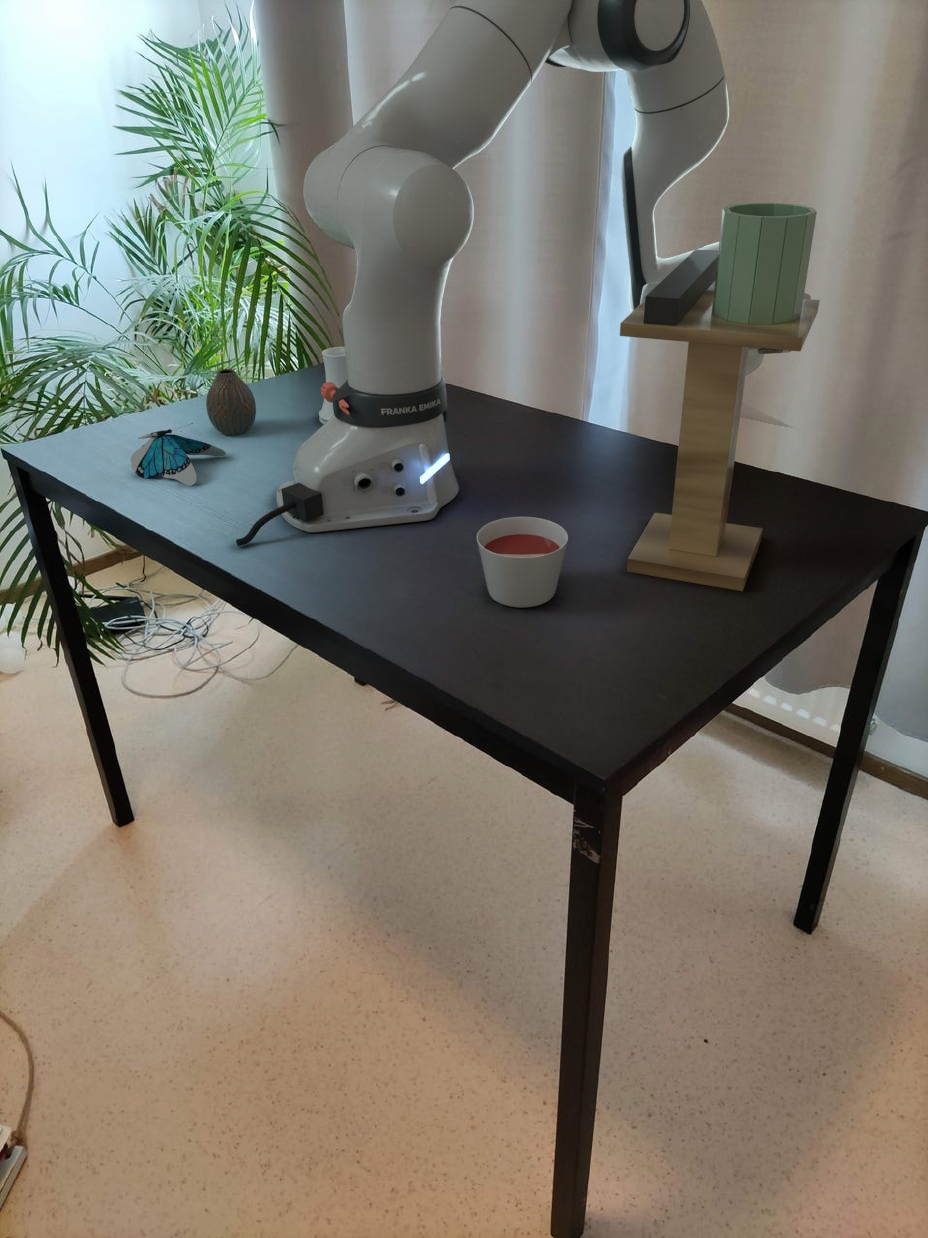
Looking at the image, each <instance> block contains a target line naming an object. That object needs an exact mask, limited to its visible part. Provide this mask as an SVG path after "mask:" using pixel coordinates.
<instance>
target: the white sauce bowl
mask: <svg viewBox="0 0 928 1238" xmlns="http://www.w3.org/2000/svg"><path fill="white" fill-rule="evenodd" d="M568 541H569V536H568V532H567V530H565V528H564V527H562V526H561V525H560V524H558V523H556V522H553V521H552V520H549V519H544V518H541V517H540V518H539V517H534V516H511V517H503V518H499V519H497V520H493V521H491V522H488V523H486V524H484V525H483V526H482V527H481V528H480V529H479V530H478V531H477V534H476V544H477V548H478V551H479V552H478V553H479V557H480V563H481V566H482V571H483V575H484V581H485V585H486V589H487V592H488V595H489V597H490V598H491V599H492V600H493V601H495V602H497V603H498V604H500V605H503V606H506V607H511V608H522V609H523V608H533V607H537V606H540V605H543V604H545V603H547V602H549V601H550V600H551V599H552V598H553V597H554V596H555V594H556V591H557V588H558V584H559V580H560V577H561V571H562V567H563V563H564V558H565V554H566V550H567V545H568Z"/></svg>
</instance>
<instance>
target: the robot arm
mask: <svg viewBox="0 0 928 1238" xmlns="http://www.w3.org/2000/svg"><path fill="white" fill-rule="evenodd" d="M706 9H707V8H706V7H705V5H704V2H703V0H455V1H454V2H453V4H452V5H451V7H450V8H449V10H448V11H447V12H446V14H445V15H444V17H443V18H442V20H441V21H440V23H439V24H438V26H437V27H436V28H435V30H434V31H433V32H432V35H431V36H430V37H429V39H428V40H427V42H426V43H425V44H424V46H423V47H422V49H421V50H420V51H419V53H418V54H417V56H416V57H415V58H414V60H413V61H412V63H411V65H410V66H409V67H408V69H407V70H406V71H405V72H404V73H403V74H402V76H401V77H400V78H399V79H398V80H397V81H396V83H394V85H393V86H392V87H391V88H390V89H389V90H388V91H387V92H386V93H385V94H383V96H382V97H381V98H379V100H377V102H375V104H374V105H373V106H372V107H371V108H370V109H369V110H367V111H366V112H365V113H364V114H363V116H362V117H360V118H359V120H357V122H356V123H355V124H354V125H353V126H352V127H351V128H350V129H349V130H348V131H347V132H346V133H345V134H344V135H343V136H342V137H341V138H340V139H338V140H337V141H336V142H335V143H334V144H332V145H331V146H329V147H328V148H326V149H324V150H322V151H321V152H320V153H319V154H318V155H316V156H315V157H314V158H313V159H312V161H311V162H310V164H309V166H308V168H307V169H306V172H305V175H304V180H303V188H302V193H303V201H304V205H305V208H306V211H307V213H308V214H309V216H310V218H311V219H312V221H313V222H314V223H315V224H316V225H317V226H318V227H319V229H320V230H321V231H322V232H323V233H324V234H325V235H327V236H328V237H329V238H330V239H331V240H333V242H336V243H337V244H339V245H342V246H344V247H347V248H349V249H352V250H354V251H355V253H356V273H355V279H354V280H355V281H354V286H353V291H352V295H351V299H350V302H349V303H348V304H347V305H346V307H345V308H344V310H343V313H342V317H341V323H342V324H341V325H342V333H343V335H342V336H343V345H344V346H343V347H345V358H346V370H347V380H346V382H345V383H344V384H343V385H342V386H341V387H340V388H339V389H338V388H337V387H336V385H334V383H332V382H326V381H325V382H324V383H323V384H322V386H321V387H320V393H321V394H320V395H321V396H322V397H323V399H324V398H325V399H326V400H327V401H328V402H331V403H332V402H333V411H334V416H332V417H331V418H330V419H329V420H328V421H327V422H326V423H325V424H322V426H321V427H320V428H318V429H317V430H316V431H315V432H314V433H313V434H311V435H310V436H309V437H308V438H307V439H306V440H305V441H304V442H302V443H301V444H300V445H299V446H298V448H296V451H295V454H294V456H293V457H294V458H293V463H292V474H291V475H292V477H291V480H289V481H285V482H283V483H282V484H280V486H279V487H278V488H277V491H276V494H275V495H276V496H275V498H276V500H275V501H276V507H277V508H275V509H272V510H271V511H269V512H267V513H266V514H265V515H263V516H261V517H260V518H259V519H258V520H257V521H256V522H255V523H254V524H253V525H252V527H251V528H250V530H249V531H248V533H247V534H246V535H245V536H243V537H241V538H236V539H235V543H236V546H238V547H240V546H241V547H242V546H245V545H247V544H249V543H250V542H252V540H253V539H254V538H255V536H257V534H258V532H259V531H260V530H261V528H262V527H264V525H266V524H267V523H268V522H270V521H271V520H273V519H275V518H276V517H278V516H281V517H282V518H283V519H284V520H285V521H286V522H287V523H288V524H289V525H291V526H292V527H294V528H296V529H297V530H300V531H304V532H306V533H321V532H322V533H323V532H330V531H331V532H332V531H341V530H350V529H359V528H369V527H370V528H371V527H377V526H378V527H379V526H387V525H397V524H407V523H415V522H425V521H431V520H433V519H435V517H436V516H437V515H438V513H439V511H440V509H442V507H444V506H445V505H447V504H448V503H450V502H452V501H453V500H454V499H455V498H456V496H457V495H458V493H459V491H460V485H459V483H458V480H457V477H456V475H455V471H454V467H453V463H452V460H451V455H450V450H449V443H448V438H447V429H446V423H447V421H448V419H447V418H448V415H447V413H448V393H447V387H446V379H445V377H444V376H443V375H442V348H441V347H442V345H441V344H442V343H441V341H442V340H441V339H442V338H441V315H442V314H441V313H442V305H443V298H444V294H445V293H444V292H445V287H446V283H447V279H448V275H449V271H450V268H451V265H452V263H453V260H454V258H455V257H456V256H457V255H458V254H459V253H460V252H461V251H462V249H463V248H464V246H465V245H466V244H467V241H468V239H469V238H470V235H471V232H472V229H473V226H474V217H475V207H474V201H473V196H472V192H471V190H470V188H469V185H468V184H467V182H466V181H465V179H464V178H463V177H462V175H461V174H459V172H457V171H456V170H455V168H457V167H458V166H459V165H461V164H462V163H463V162H465V161H466V160H467V159H469V158H471V157H473V156H475V155H477V154H479V153H480V152H481V151H482V150H484V149H485V148H486V147H488V145H490V143H491V142H492V140H493V139H494V138H495V136H496V135H497V133H498V132H499V131H500V129H501V128H502V126H503V125H504V123H505V122H506V121H507V119H508V117H509V116H510V115H511V113H512V112H513V110H514V109H515V107H516V106H517V105H518V103H519V101H520V100H521V98H522V97H523V96H524V94H526V92H527V90H528V89H529V87H530V86H531V84H533V81H534V80H535V79H536V77H537V75H538V74H539V72H540V71H541V69H542V67H543V66H544V64H547V65H549V66H552V67H556V68H572V69H576V70H577V69H578V70H584V71H587V72H593V73H604V72H606V73H607V72H617V71H623V72H624V73H625V76H626V78H627V83H628V88H629V89H628V90H629V94H630V98H631V103H632V106H633V109H634V114H635V130H634V131H635V132H634V137H633V139H632V140H633V141H632V143H631V145H630V146H629V147H628V148H627V150H626V151H625V152H624V153H623V155H622V159H621V173H620V174H621V177H620V178H621V189H622V190H621V191H622V207H623V217H624V228H625V237H626V238H625V239H626V247H627V248H626V249H627V255H628V256H627V257H628V265H629V267H628V268H629V282H628V305H629V310H630V314H631V313H632V312H633V311H634V310H635V309H636V308H637V307H638V306H639V305H640V304H641V303H642V302H643V301H644V300H645V296H646V295H647V294H649V293H650V292H651V291H652V290H653V289H654V288H655V287H656V286H657V285H658V284H659V283H660V282H661V281H662V280H663V279H665V278H666V277H667V276H668V275H669V274H670V273H671V272H672V271H673V270H674V269H675V268H676V267H677V266H678V265H679V264H680V263H682V262H683V261H684V260H685V259H686V258H687V257H688V256H689V255H690V254H691V253H692V252H693V251H694V250H695V249H694V250H690V251H687V252H684V253H680V254H678V255H674V256H671V257H667V258H662V257H659V256H658V251H657V250H658V249H657V238H656V226H655V224H656V221H655V209H656V206H657V205H658V202H659V201H660V200H661V198H662V197H663V195H664V194H666V192H667V191H668V190H670V189H671V187H673V186H674V185H675V184H676V183H677V182H678V181H679V180H681V179H682V178H683V177H685V176H686V175H687V174H689V173H690V172H691V171H693V170H694V169H695V168H697V167H698V166H700V164H701V163H702V162H704V160H706V159H707V158H708V156H709V155H710V154H711V153H712V152H713V151H714V149H716V147H717V145H718V144H719V142H720V141H721V139H722V138H723V135H724V134H725V131H726V129H727V126H728V122H729V119H730V103H729V102H730V101H729V93H728V85H727V79H726V74H725V69H724V64H723V60H722V55H721V52H720V48H719V43H718V40H717V37H716V35H715V31H714V27H713V25H712V23H711V20H710V17H709V15H708V12H707V10H706ZM696 250H715V251H718V250H719V241H717V242H713V243H710V244H707V245H705V246H702V247H701V248H697V249H696ZM714 287H715V281H714V282H713V283H712V285H711V286H710V287H709V288H708V289H707V290H706V292H710V293H714ZM803 299H812V298H811V295H810V294H809V293H806V292H804V298H803ZM791 352H792V351H788V350H777V349H765V348H754V347H749V352H748V359H747V367H746V375H745V377H746V376H749V375H750V374H752V373H754V372H755V371H757V369H758V368H759V367H760V366H761V365H762V363H764V360H765V358H766V356H767V355H771V354H772V355H773V354H787V353H791Z"/></svg>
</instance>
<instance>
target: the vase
mask: <svg viewBox="0 0 928 1238" xmlns="http://www.w3.org/2000/svg"><path fill="white" fill-rule="evenodd" d="M214 378H215V379H214V380H213V382H212V384H211V386H209V389H208V391H207V394H206V402H205V405H206V413H207V417H208V419H209V421H210V423H211V425H212V426H213V428H215V430H216V431H218V432H219V433H220V434H223V435H225V436H237V435H238V436H239V435H243V434H245V433H247V432H248V431H249V430H250V429H251V428H252V427H253V425H254V423H255V421H256V417H257V404H256V399H255V397H254V395H253V392H252V390H251V389H250V387H249V386H248V385H247V384H246V382H244V380H243V379H241V377H239V375H238V374H237V372H236V370H235V369H233V368H223V369H220V370H218V371H217V373H216V376H215V377H214Z"/></svg>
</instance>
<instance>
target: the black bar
mask: <svg viewBox="0 0 928 1238" xmlns="http://www.w3.org/2000/svg"><path fill="white" fill-rule="evenodd" d="M692 251H693V250H692ZM717 259H718V251H715V250H697V249H694V251H693V252H692V253H691V254H690V255H689V256H688V257H687V258H686V259H685V260H684V261H683V262H682V263H680V264H679V265H678V266H677V267H676V268H675V269H674V270H673V271H672V272H671V273H670V274H669V275H668V276H667V277H666V278H665V279H663V280H662V281H661V282H660V283H659V284H658V285H657V286H656V287H655V288H654V289H653V290H652V291H651V292H650V293H649V294H647V295H646V296H645V308H644V323H649V324H661V325H673V326H676V325H677V324H678V323H679V321H680V320H681V319H682V318H683V317H684V316H685V315H686V313H687V312H688V311H689V310H690V309H691V308H692V306H693V305H694V304H695V303H696V302H697V301H698V300H699V298H700V297H701V296H702V295H703V294H704V293H705V292H706V290H707V289H708V288H709V287H710V286H711V285H712V283H713V282H714V281H715V278H716V269H717Z"/></svg>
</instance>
